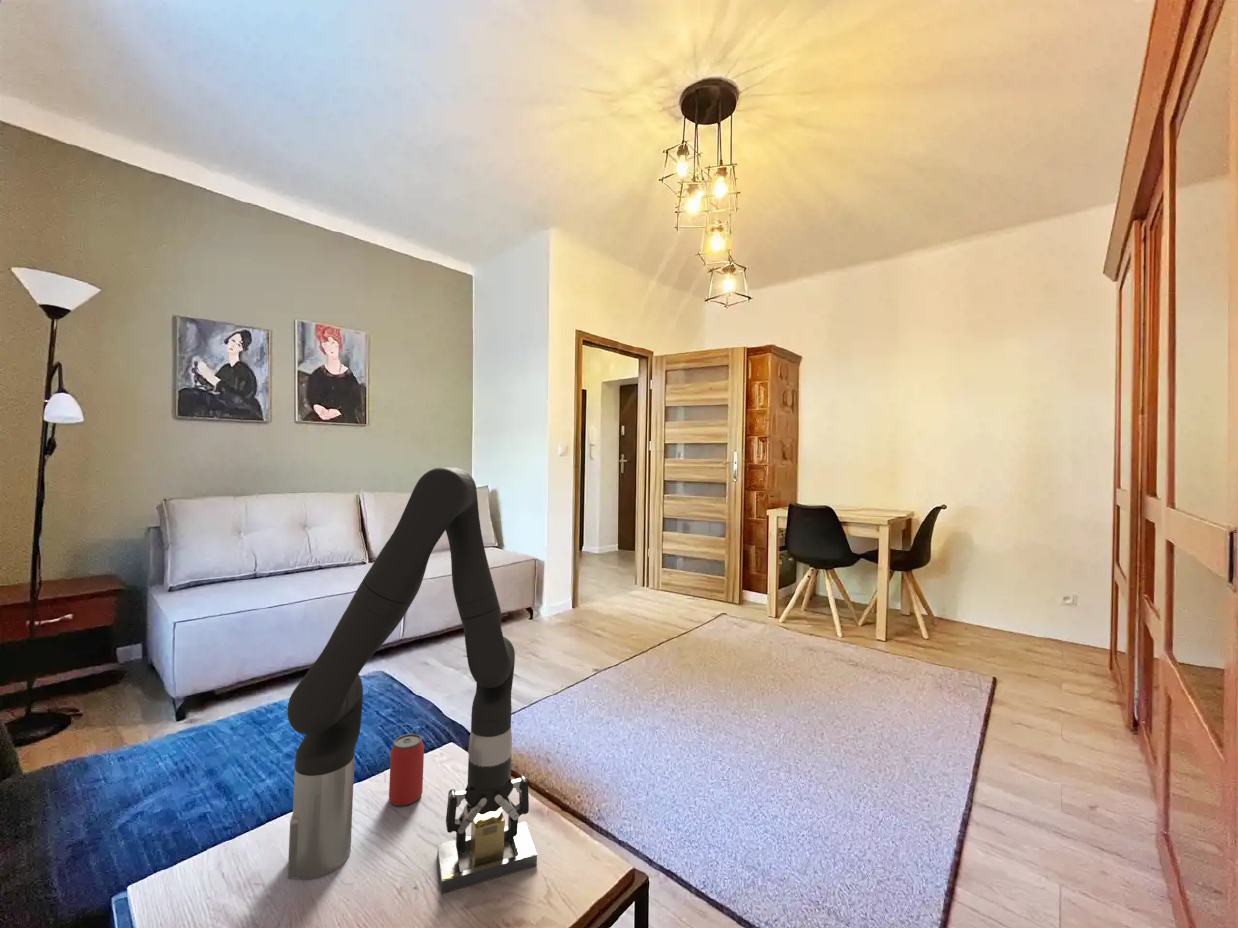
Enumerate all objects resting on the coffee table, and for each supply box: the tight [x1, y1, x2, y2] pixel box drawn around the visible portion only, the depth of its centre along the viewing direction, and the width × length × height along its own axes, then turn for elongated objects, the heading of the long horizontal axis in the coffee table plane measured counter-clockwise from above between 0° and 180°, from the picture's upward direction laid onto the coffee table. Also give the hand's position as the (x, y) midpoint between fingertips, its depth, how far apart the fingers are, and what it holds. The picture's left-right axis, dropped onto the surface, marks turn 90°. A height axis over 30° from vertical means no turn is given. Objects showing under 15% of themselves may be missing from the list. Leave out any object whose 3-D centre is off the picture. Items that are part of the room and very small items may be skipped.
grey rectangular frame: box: [436, 821, 538, 894], centre depth 90 cm, size 16×9×2 cm, turn 114°
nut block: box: [469, 807, 506, 868], centre depth 90 cm, size 5×5×8 cm
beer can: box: [388, 733, 425, 807], centre depth 107 cm, size 7×7×12 cm
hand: (487, 843), depth 90 cm, fingers open, 8 cm apart
